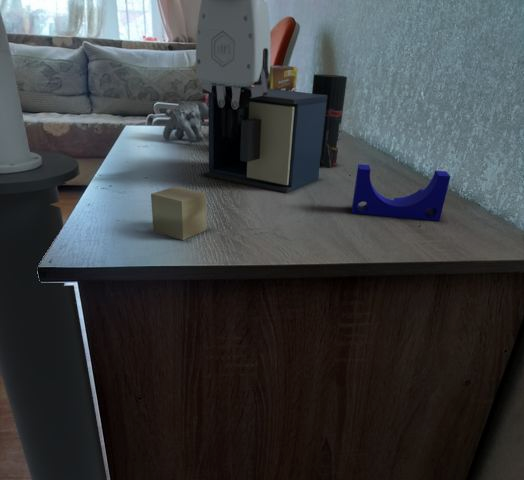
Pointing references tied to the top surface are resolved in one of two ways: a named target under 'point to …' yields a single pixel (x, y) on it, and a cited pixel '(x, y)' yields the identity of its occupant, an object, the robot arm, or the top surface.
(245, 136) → the closet door
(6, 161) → the robot arm
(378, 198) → the blue u-shaped bracket
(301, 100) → the closet
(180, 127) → the gray elephant figurine
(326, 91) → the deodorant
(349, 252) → the top surface
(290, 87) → the candy box
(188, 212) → the block
